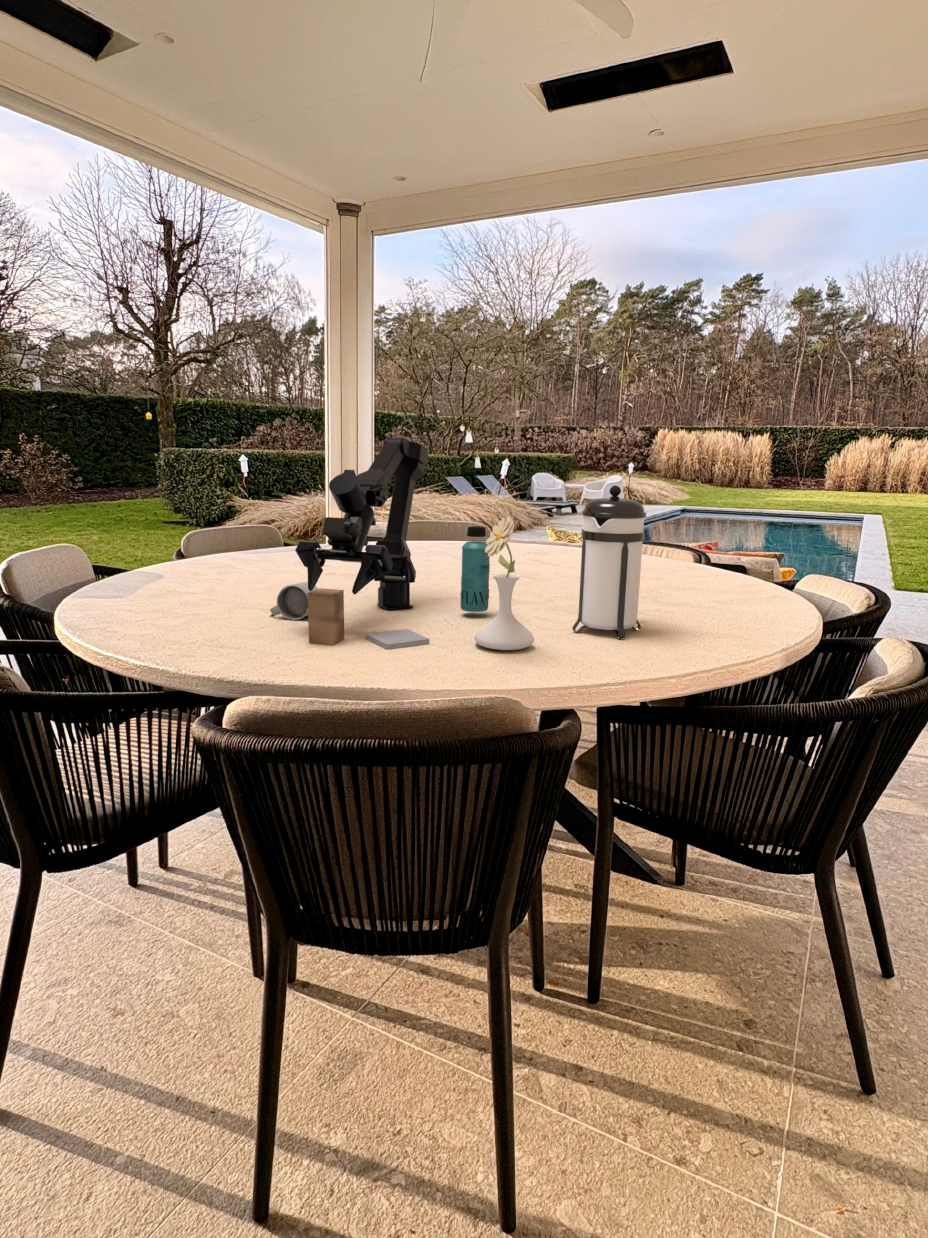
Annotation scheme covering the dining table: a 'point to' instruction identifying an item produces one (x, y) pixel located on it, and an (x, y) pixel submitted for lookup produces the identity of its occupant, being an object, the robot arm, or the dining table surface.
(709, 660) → the dining table surface
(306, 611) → the ceramic mug
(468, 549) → the beverage bottle
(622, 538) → the coffee press
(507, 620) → the flower in vase
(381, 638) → the upper grey slab
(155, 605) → the dining table surface
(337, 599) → the walnut post
